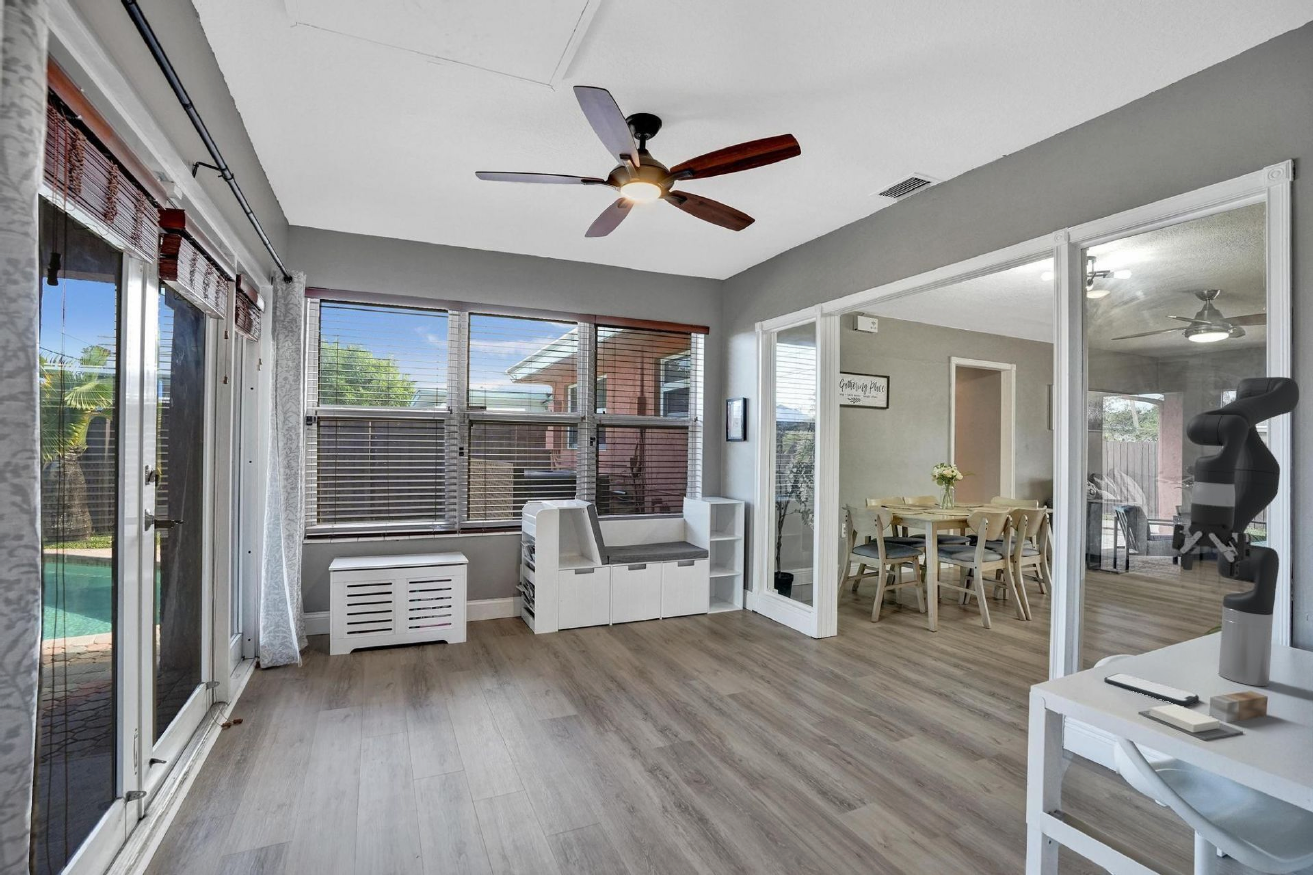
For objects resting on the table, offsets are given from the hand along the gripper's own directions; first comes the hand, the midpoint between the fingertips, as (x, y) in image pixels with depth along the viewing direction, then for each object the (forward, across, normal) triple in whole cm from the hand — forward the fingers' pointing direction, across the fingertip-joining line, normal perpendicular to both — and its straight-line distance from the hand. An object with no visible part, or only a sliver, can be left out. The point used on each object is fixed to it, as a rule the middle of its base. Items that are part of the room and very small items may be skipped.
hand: (1208, 573), depth 149 cm
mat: (+27, -10, +21) cm, 36 cm away
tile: (+26, -10, +19) cm, 34 cm away
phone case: (+28, +5, +10) cm, 30 cm away
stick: (+28, -10, +5) cm, 30 cm away
